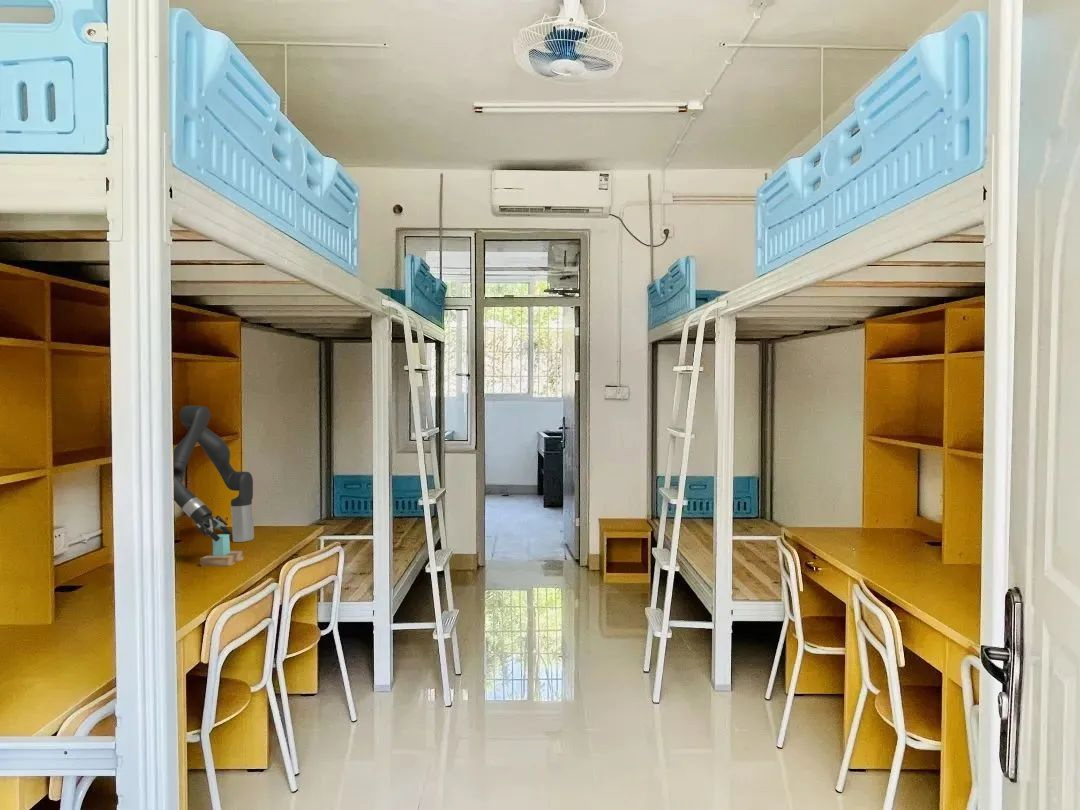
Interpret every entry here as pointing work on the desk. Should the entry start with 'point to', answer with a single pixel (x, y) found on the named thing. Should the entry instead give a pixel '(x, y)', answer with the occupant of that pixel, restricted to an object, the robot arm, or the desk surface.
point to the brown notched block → (222, 559)
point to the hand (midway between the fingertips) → (224, 537)
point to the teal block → (221, 545)
